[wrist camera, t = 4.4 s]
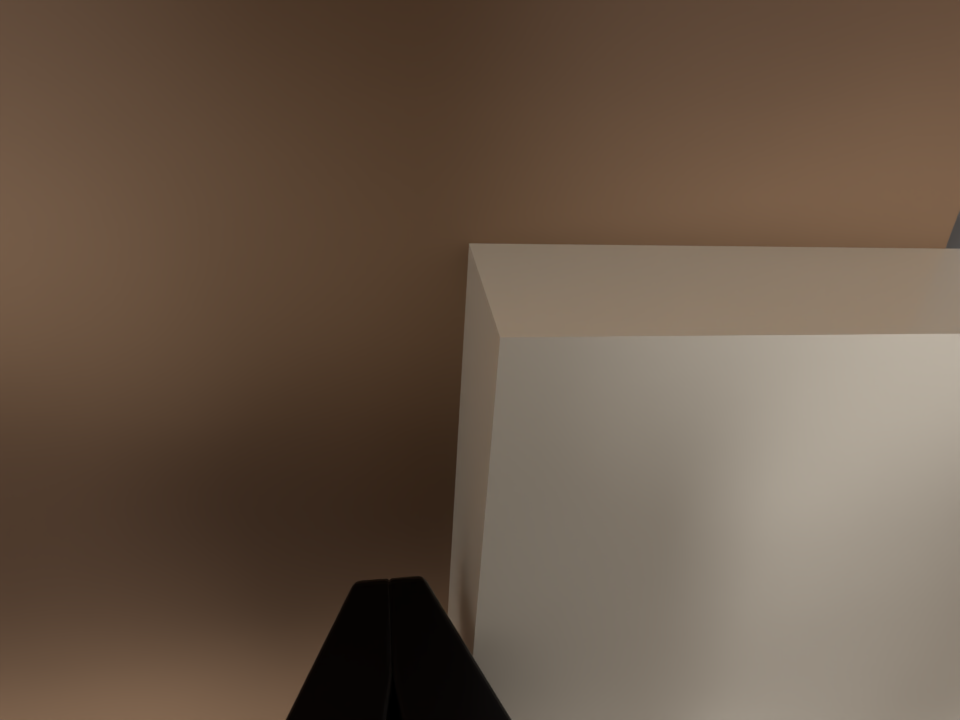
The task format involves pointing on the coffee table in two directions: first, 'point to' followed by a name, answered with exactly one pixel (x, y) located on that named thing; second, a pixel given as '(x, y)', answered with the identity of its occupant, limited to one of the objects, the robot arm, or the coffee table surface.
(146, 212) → the walnut board
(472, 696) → the robot arm
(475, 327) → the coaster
